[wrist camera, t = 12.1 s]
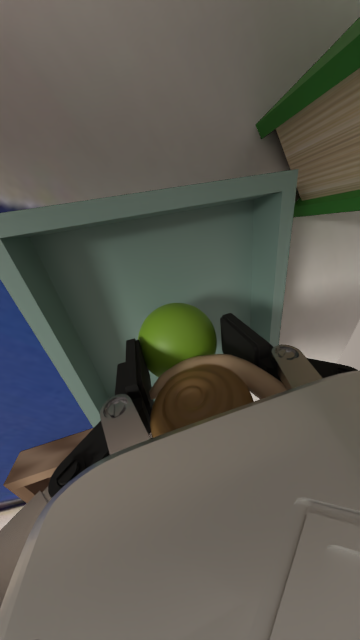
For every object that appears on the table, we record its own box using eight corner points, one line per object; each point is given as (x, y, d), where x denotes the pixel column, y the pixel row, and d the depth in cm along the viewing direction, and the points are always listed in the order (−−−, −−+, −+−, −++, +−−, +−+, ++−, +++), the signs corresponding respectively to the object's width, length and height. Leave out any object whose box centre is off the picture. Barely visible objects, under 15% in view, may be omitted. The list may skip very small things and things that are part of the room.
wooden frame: (69, 499, 26) (62, 530, 23) (20, 452, 20) (3, 485, 17) (155, 467, 27) (158, 492, 25) (133, 415, 22) (133, 440, 19)
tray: (106, 405, 20) (101, 440, 17) (10, 223, 12) (-38, 218, 8) (253, 360, 23) (274, 382, 19) (259, 184, 14) (298, 168, 11)
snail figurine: (217, 333, 17) (364, 502, 6) (151, 360, 16) (192, 594, 6) (202, 277, 14) (416, 410, 4) (124, 308, 14) (107, 564, 3)
